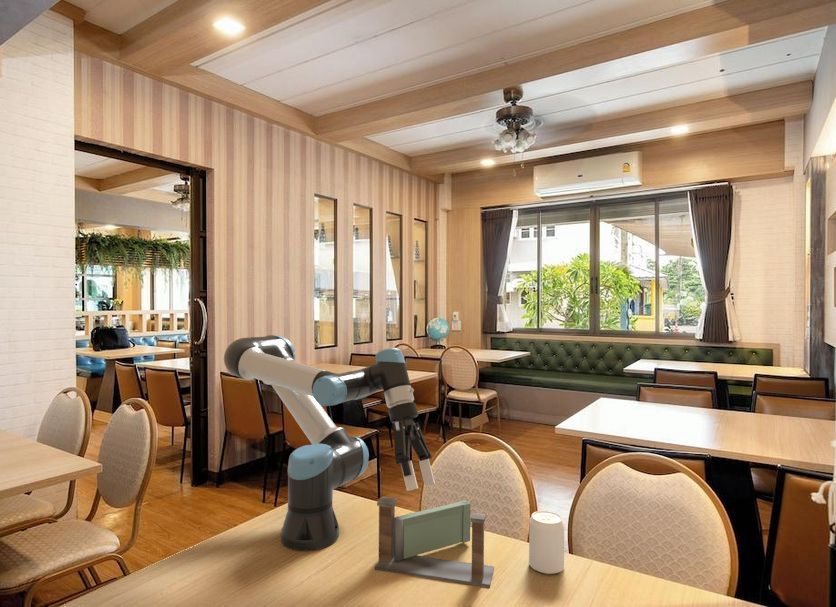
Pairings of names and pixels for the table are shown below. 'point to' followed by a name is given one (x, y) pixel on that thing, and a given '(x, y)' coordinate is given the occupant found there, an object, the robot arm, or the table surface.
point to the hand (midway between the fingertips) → (421, 487)
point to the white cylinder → (546, 542)
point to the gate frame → (427, 565)
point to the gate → (431, 529)
